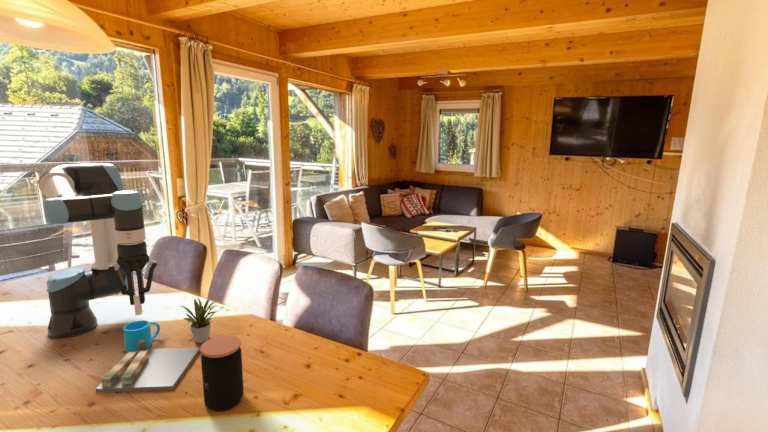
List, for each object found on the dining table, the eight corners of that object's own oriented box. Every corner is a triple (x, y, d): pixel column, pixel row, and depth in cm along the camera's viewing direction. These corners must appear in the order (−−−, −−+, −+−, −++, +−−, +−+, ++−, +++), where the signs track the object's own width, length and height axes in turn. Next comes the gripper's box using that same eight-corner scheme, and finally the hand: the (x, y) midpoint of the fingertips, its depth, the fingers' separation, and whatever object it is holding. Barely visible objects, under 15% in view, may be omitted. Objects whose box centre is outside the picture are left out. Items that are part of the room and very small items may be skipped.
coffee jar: (212, 389, 117) (208, 335, 114) (247, 388, 118) (245, 334, 115) (198, 414, 107) (193, 355, 103) (237, 412, 108) (234, 354, 104)
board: (135, 352, 136) (135, 349, 136) (200, 350, 138) (199, 347, 138) (96, 392, 115) (95, 388, 114) (173, 389, 117) (172, 386, 116)
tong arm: (140, 357, 130) (139, 351, 130) (148, 356, 131) (147, 350, 131) (121, 384, 116) (121, 377, 116) (131, 383, 117) (130, 376, 116)
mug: (132, 354, 135) (130, 333, 133) (121, 347, 139) (118, 326, 137) (166, 340, 145) (164, 320, 143) (155, 334, 149) (153, 314, 147)
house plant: (233, 335, 149) (230, 296, 146) (203, 352, 137) (200, 310, 134) (206, 327, 155) (204, 289, 152) (176, 343, 143) (172, 302, 139)
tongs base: (137, 350, 135) (136, 338, 134) (152, 350, 136) (151, 338, 135) (102, 386, 115) (100, 373, 115) (119, 386, 116) (117, 372, 115)
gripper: (102, 247, 111) (111, 322, 116) (154, 243, 116) (161, 315, 121) (108, 240, 117) (116, 311, 122) (157, 237, 123) (163, 305, 128)
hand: (138, 313), depth 122 cm, fingers closed
